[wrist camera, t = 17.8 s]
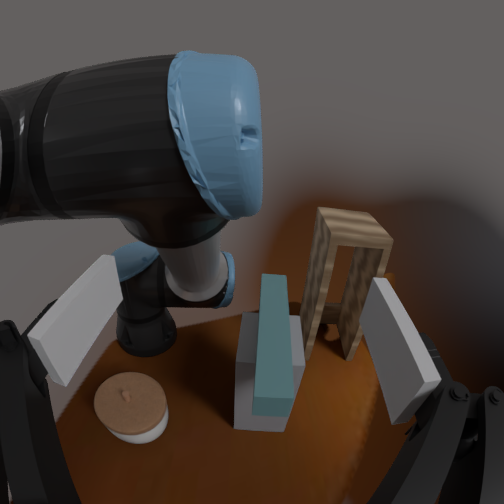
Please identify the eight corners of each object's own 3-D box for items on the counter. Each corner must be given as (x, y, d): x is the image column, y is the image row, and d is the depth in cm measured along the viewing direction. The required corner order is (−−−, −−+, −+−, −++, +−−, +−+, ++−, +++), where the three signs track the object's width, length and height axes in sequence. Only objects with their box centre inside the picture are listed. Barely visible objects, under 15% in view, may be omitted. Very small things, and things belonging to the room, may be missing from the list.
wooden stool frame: (351, 360, 59) (393, 239, 45) (302, 360, 59) (331, 233, 46) (340, 320, 72) (368, 212, 59) (298, 318, 73) (317, 206, 59)
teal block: (287, 416, 26) (294, 398, 25) (251, 415, 27) (254, 396, 25) (283, 295, 48) (286, 275, 46) (260, 293, 48) (262, 273, 46)
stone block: (283, 431, 42) (305, 365, 34) (233, 428, 43) (235, 361, 34) (283, 388, 52) (299, 315, 43) (239, 385, 52) (242, 311, 43)
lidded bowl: (154, 464, 34) (137, 440, 29) (98, 432, 37) (75, 401, 32) (185, 414, 45) (177, 381, 40) (131, 389, 48) (117, 354, 43)
